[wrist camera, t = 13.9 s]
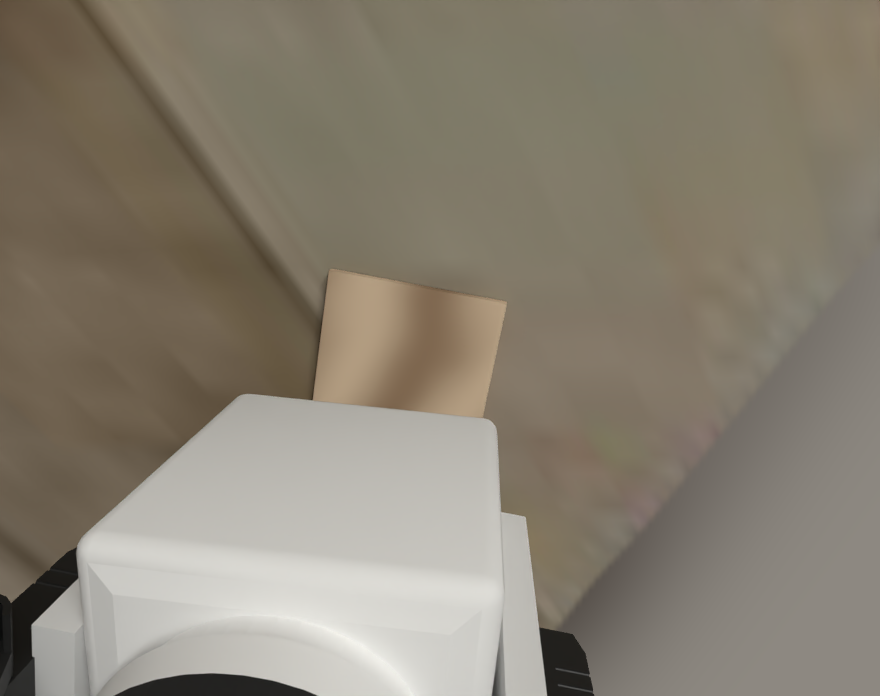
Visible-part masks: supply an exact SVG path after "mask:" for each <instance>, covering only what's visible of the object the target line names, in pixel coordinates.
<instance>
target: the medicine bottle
mask: <svg viewBox="0 0 880 696" xmlns="http://www.w3.org/2000/svg"><path fill="white" fill-rule="evenodd" d="M76 558H77V567H78V577H79V587H80V597H81V607H82V617H83V627H84V636H85V646H86V656H87V666H88V676H89V686H90V696H492V690H493V682H494V675H495V667H496V660H497V652H498V645H499V637H500V630H501V622H502V615H503V607H504V600H505V584H504V563H503V543H502V523H501V503H500V482H499V462H498V442H497V430H496V427H495V425H494V424H493V423H492V422H491V421H490V420H488V419H485V418H477V417H467V416H458V415H448V414H438V413H429V412H419V411H409V410H400V409H390V408H380V407H371V406H361V405H352V404H342V403H332V402H323V401H313V400H303V399H294V398H284V397H274V396H265V395H255V394H244V395H239V396H238V397H237V398H236V399H235V400H234V401H232V402H231V403H230V404H229V405H228V406H227V407H226V408H225V409H224V410H222V411H221V412H220V413H219V414H218V415H217V416H216V417H215V418H214V419H212V420H211V421H210V422H209V423H208V424H207V425H206V426H205V427H204V428H202V429H201V430H200V431H199V432H198V433H197V434H196V435H195V436H194V437H192V438H191V439H190V440H189V441H188V442H187V443H186V444H185V445H184V446H182V447H181V448H180V449H179V450H178V451H177V452H176V453H175V454H174V455H172V456H171V457H170V458H169V459H168V460H167V461H166V462H165V463H164V464H162V465H161V466H160V467H159V468H158V469H157V470H156V471H155V472H154V473H152V474H151V475H150V476H149V477H148V478H147V479H146V480H145V481H144V482H142V483H141V484H140V485H139V486H138V487H137V488H136V489H135V490H134V491H132V492H131V493H130V494H129V495H128V496H127V497H126V498H125V499H124V500H122V501H121V502H120V503H119V504H118V505H117V506H116V507H115V508H114V509H112V510H111V511H110V512H109V513H108V514H107V515H106V516H105V517H104V518H102V519H101V520H100V521H99V522H98V523H97V524H96V525H95V526H94V527H92V528H91V529H90V530H89V531H88V532H87V533H86V534H85V535H84V536H82V538H81V540H80V542H79V543H78V546H77V551H76Z"/></svg>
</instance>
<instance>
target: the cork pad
mask: <svg viewBox="0 0 880 696" xmlns="http://www.w3.org/2000/svg"><path fill="white" fill-rule="evenodd" d="M506 306H507V302H506V301H501V300H496V299H491V298H486V297H480V296H475V295H470V294H464V293H459V292H454V291H448V290H443V289H438V288H432V287H427V286H422V285H417V284H411V283H406V282H401V281H395V280H390V279H385V278H379V277H374V276H369V275H364V274H358V273H353V272H348V271H342V270H337V269H330V270H329V274H328V282H327V290H326V298H325V306H324V314H323V322H322V330H321V338H320V346H319V354H318V362H317V370H316V378H315V386H314V394H313V401H323V402H332V403H342V404H352V405H361V406H371V407H380V408H390V409H400V410H409V411H419V412H429V413H438V414H448V415H458V416H467V417H477V418H483V413H484V408H485V404H486V399H487V394H488V390H489V385H490V380H491V376H492V371H493V366H494V362H495V357H496V352H497V348H498V343H499V338H500V334H501V329H502V324H503V320H504V315H505V310H506Z"/></svg>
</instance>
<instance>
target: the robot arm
mask: <svg viewBox="0 0 880 696" xmlns="http://www.w3.org/2000/svg"><path fill="white" fill-rule="evenodd" d="M501 523H502V543H503V563H504V584H505V600H504V607H503V615H502V622H501V630H500V637H499V645H498V652H497V660H496V667H495V675H494V682H493V690H492V696H594V694H593V687H592V683H591V678H590V677H589V674H590V673H589V668H588V664H587V659H586V654H585V652H584V651H583V649H582V648H581V646H580V645H579V643H578V642H577V640H576V639H575V637H574V636H573V634H569V633H564V632H559V631H554V630H549V629H544V628H539V624H538V616H537V608H536V599H535V591H534V583H533V575H532V566H531V558H530V550H529V541H528V533H527V525H526V517H523V516H518V515H513V514H508V513H503V512H501ZM76 551H77V548H75V549H73V550H71V551H69V552H67V553H66V554H65V555H64V556H63V557H62V558H61V559H59V560H58V561H57V562H56V563H55V564H54V565H53V566H52V567H51V568H50V570H49V571H46V572H45V573H44V574H43V575H42V576H41V577H40V578H39V579H37V581H36V583H35V584H32V585H31V586H30V587H29V588H27V589H26V590H25V591H24V592H23V593H22V594H21V595H20V596H19V597H18V598H16V599H15V600H14V601H13V602H12V603H10V601H9V600H8V598H7V597H6V596H3V595H1V594H0V696H90V686H89V676H88V666H87V656H86V646H85V636H84V627H83V617H82V607H81V597H80V587H79V577H78V567H77V558H76Z"/></svg>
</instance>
